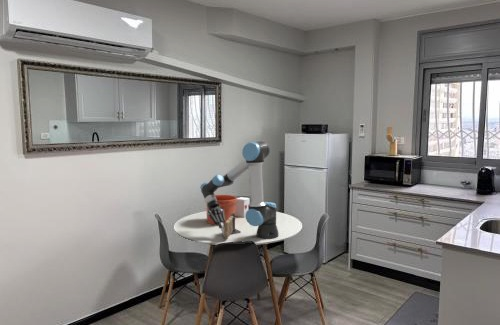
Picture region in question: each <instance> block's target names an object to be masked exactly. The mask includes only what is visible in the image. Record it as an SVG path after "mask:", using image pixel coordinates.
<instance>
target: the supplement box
mask: <svg viewBox="0 0 500 325" xmlns="http://www.w3.org/2000/svg"><path fill="white" fill-rule="evenodd" d="M249 203H250V197H245V196H243V197H242V196H240V197H237V202H236V207H235V217H239V218H246V212H247V211H248V205H249Z"/></svg>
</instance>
